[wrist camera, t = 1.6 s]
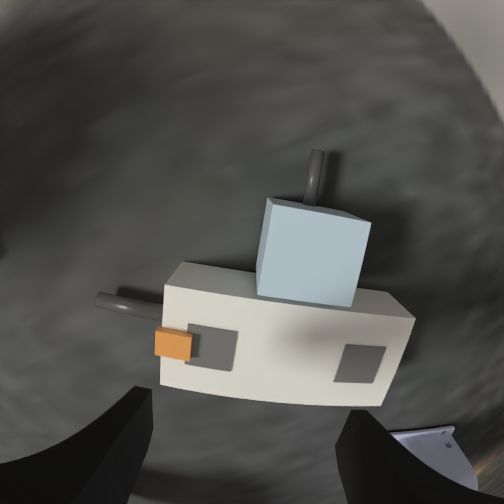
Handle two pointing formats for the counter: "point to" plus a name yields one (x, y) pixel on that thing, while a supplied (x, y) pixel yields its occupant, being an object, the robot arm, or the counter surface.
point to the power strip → (271, 340)
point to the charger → (310, 248)
